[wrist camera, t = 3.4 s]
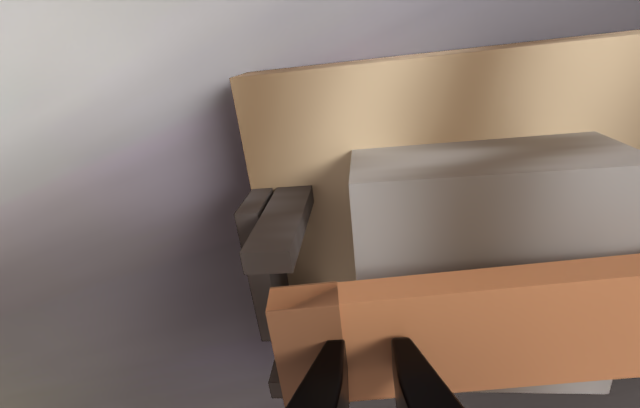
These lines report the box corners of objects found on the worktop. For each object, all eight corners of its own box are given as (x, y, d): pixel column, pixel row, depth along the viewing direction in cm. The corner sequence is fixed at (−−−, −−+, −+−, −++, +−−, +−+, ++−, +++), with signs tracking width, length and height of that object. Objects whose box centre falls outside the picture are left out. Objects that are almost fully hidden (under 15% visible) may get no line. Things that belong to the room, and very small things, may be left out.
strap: (766, 233, 9) (843, 266, 7) (725, 333, 10) (785, 376, 9) (271, 281, 9) (263, 320, 8) (288, 371, 10) (284, 418, 9)
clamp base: (701, 23, 11) (1081, 7, 5) (617, 334, 16) (766, 511, 10) (248, 72, 13) (153, 101, 7) (294, 337, 18) (260, 485, 12)
